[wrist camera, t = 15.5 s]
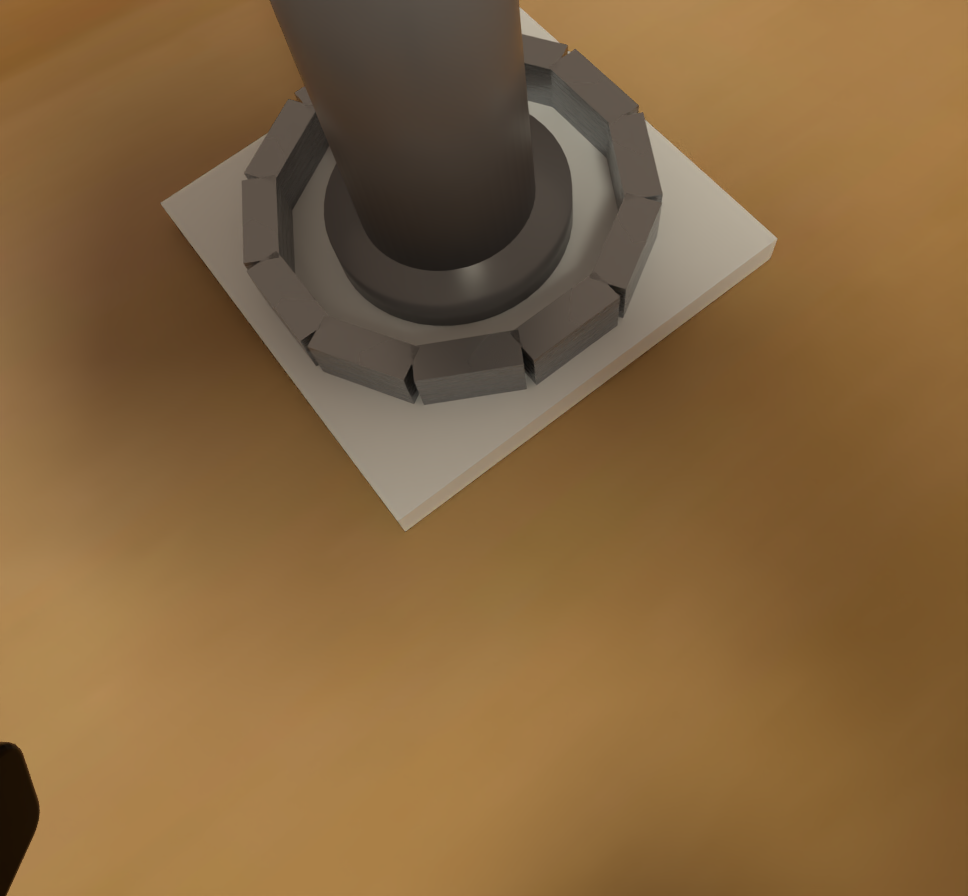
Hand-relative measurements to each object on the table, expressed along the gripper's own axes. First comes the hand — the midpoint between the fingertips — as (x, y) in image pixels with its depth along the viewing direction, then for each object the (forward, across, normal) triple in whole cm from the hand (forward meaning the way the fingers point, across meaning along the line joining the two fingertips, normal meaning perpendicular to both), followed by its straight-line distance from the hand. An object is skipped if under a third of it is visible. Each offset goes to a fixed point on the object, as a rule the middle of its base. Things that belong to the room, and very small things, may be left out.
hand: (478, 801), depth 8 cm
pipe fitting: (+20, +3, -2) cm, 20 cm away
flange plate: (+20, +3, -1) cm, 20 cm away
